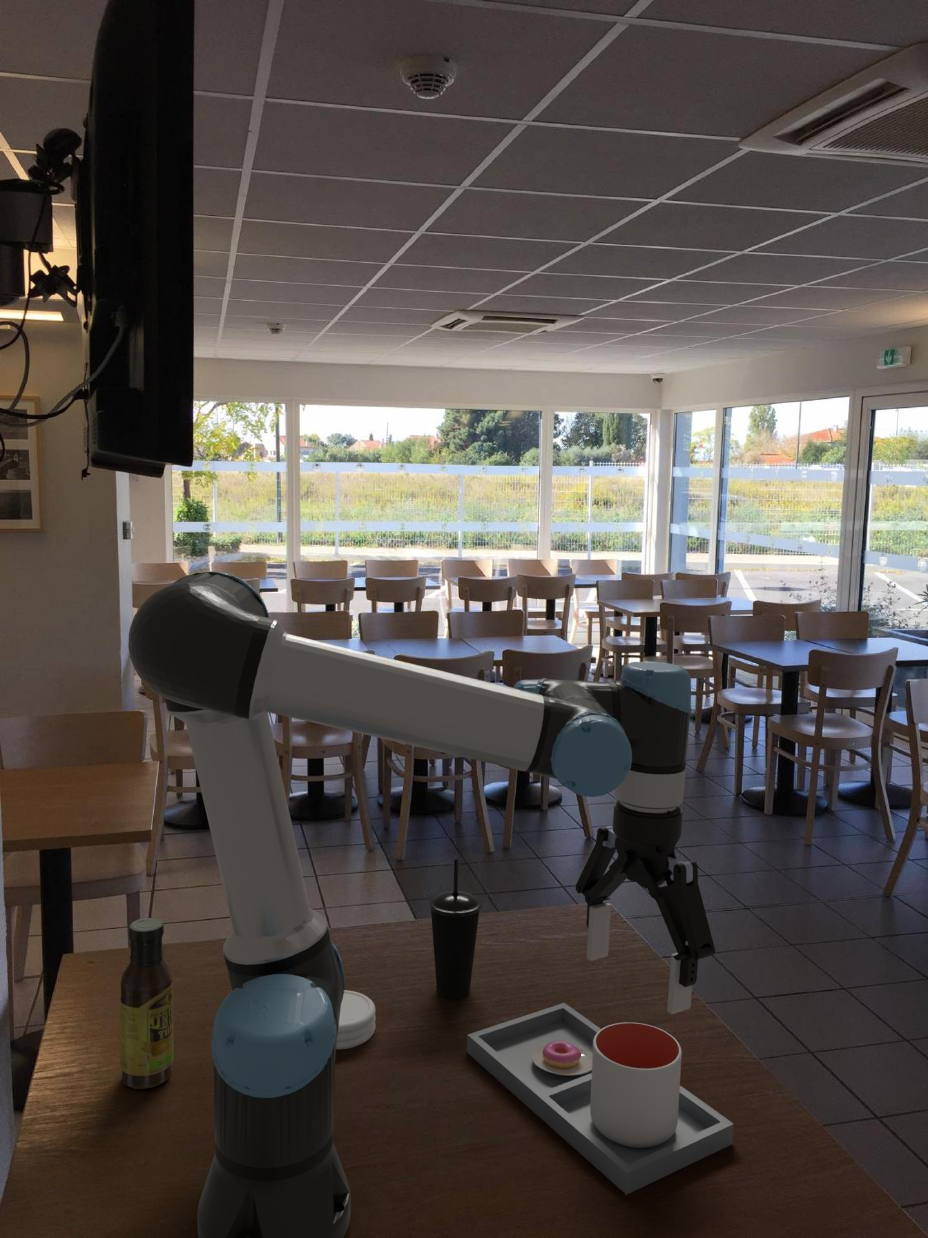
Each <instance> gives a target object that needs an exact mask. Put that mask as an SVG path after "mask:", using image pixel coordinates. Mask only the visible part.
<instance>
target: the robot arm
mask: <svg viewBox="0 0 928 1238" xmlns="http://www.w3.org/2000/svg"><path fill="white" fill-rule="evenodd" d="M133 616H134V617H133V619H132V621H131V624H130V626H129V632H128V641H127V642H128V645H127V647H128V651H129V652H128V653H129V658H130V661H131V663H132V666H133V668H134V670H135V673H136V674H137V676H138V677H139V678H140V679H141V681H142V682H143V683H144V685H146V686H147V687H148V688H149V689H151V690H152V692H154V693H155V694H158V695H159V696H161V697H162V698H164V700H165V705H166V710H167V713H168V714H170V715H171V716H173V717H175V718H177V719H178V720H180V721H182V722H183V723H184V724H185V725H186V730H187V734H188V738H189V743H190V747H191V752H192V756H193V761H194V765H195V770H196V774H197V779H198V782H199V787H200V791H201V795H202V800H203V804H204V805H203V806H204V808H205V809H204V810H205V812H206V817H207V821H208V826H209V831H210V835H211V840H212V844H213V845H212V846H213V849H214V853H215V858H216V861H217V866H218V870H219V875H220V879H221V883H222V888H223V893H224V897H225V901H226V905H227V910H228V914H229V918H230V922H231V927H232V928H231V929H232V931H231V932H230V934H229V935H228V937H227V939H226V940H225V941H224V944H223V946H222V953H223V957H224V961H225V962H224V963H225V966H226V970H227V974H228V979H229V983H230V989H231V991H230V992H229V993H228V994H227V995H226V997H225V998H224V999H223V1000H222V1002H221V1003H220V1005H219V1007H218V1008H217V1011H216V1014H215V1016H214V1023H213V1029H212V1032H211V1039H210V1041H211V1043H210V1045H211V1046H210V1047H211V1054H212V1055H211V1056H212V1061H213V1107H214V1108H213V1109H214V1110H213V1112H214V1113H213V1116H214V1117H213V1118H214V1119H213V1120H214V1156H213V1159H212V1162H211V1165H210V1167H209V1171H208V1173H207V1175H206V1176H207V1177H206V1180H205V1182H204V1186H203V1188H202V1192H201V1195H200V1198H199V1200H198V1207H197V1217H196V1218H197V1219H196V1220H197V1238H345V1236H346V1234H347V1231H348V1230H349V1227H350V1223H351V1216H352V1215H351V1214H352V1213H351V1204H352V1203H351V1202H352V1201H351V1199H352V1197H351V1189H350V1186H349V1185H350V1184H349V1181H348V1180H347V1176H346V1174H345V1171H344V1169H343V1165H342V1163H341V1160H340V1156H339V1155H338V1151H337V1149H336V1146H335V1143H334V1115H335V1114H334V1112H335V1111H334V1110H335V1109H334V1107H335V1106H334V1104H335V1101H334V1099H335V1097H334V1094H335V1093H334V1091H335V1090H334V1089H335V1087H334V1086H335V1085H334V1083H335V1081H334V1080H335V1064H336V1063H335V1061H336V1053H337V1052H336V1051H337V1050H336V1045H337V1036H338V1027H339V1018H340V1010H341V1003H342V999H343V995H344V989H345V985H346V982H345V981H346V980H345V979H346V977H345V970H344V964H343V961H342V958H341V955H340V953H339V951H338V948H337V946H336V945H335V944H334V942H333V941H332V940H331V934H330V930H329V926H328V922H327V919H326V918H325V916H324V915H322V914H321V913H319V912H318V911H316V910H314V909H312V908H310V907H311V906H310V903H309V897H308V894H307V889H306V883H305V879H304V875H303V870H302V865H301V861H300V857H299V856H300V855H299V851H298V846H297V841H296V838H295V837H296V836H295V832H294V829H293V828H294V827H293V823H292V818H291V813H290V810H289V806H288V801H287V800H288V799H287V795H286V790H285V786H284V782H283V777H282V776H283V775H282V772H281V767H280V762H279V757H278V754H277V749H276V744H275V740H274V735H273V731H272V725H271V721H270V716H269V713H270V714H274V715H277V716H278V715H279V716H282V717H287V718H292V719H294V720H295V719H296V720H300V721H304V722H309V723H314V724H318V725H322V726H327V727H330V728H335V729H339V730H343V731H344V730H345V731H348V732H353V733H357V734H361V735H362V734H363V735H366V736H371V737H375V738H378V739H383V740H387V741H392V742H396V743H401V744H406V745H410V746H414V747H417V748H422V749H427V750H430V751H435V752H441V753H445V754H449V755H452V756H458V757H462V758H466V759H470V760H475V761H477V762H478V761H479V762H483V763H487V764H492V765H497V766H500V767H505V768H509V769H514V770H517V771H518V770H519V771H523V772H528V773H531V774H534V775H538V776H541V777H547V778H550V779H554V780H557V782H558V783H560V785H562V786H563V787H565V788H567V789H568V790H569V791H571V792H572V793H573V794H576V795H578V796H581V797H588V798H595V797H602V796H605V795H607V794H609V793H612V792H613V791H614V794H613V795H614V796H615V798H616V801H614V803H613V814H612V815H613V817H612V818H613V819H612V825H608V826H604V827H599V828H597V832H596V838H595V839H596V840H595V844H594V847H593V849H592V850H591V853H590V855H589V857H588V858H587V861H586V863H585V865H584V867H583V869H582V872H581V874H580V875H579V877H578V880H577V881H576V884H575V890H576V893H577V894H579V895H580V894H582V895H583V896H584V901H585V902H586V905H587V906H586V908H587V909H586V928H587V930H588V931H587V946H586V960H588V961H589V962H592V961H596V960H600V959H603V958H607V957H609V950H610V949H609V947H610V931H611V915H612V904H611V903H609V902H604V901H608V900H611V897H610V896H611V895H612V894H613V893H614V892H615V891H616V890H617V889H618V888H619V887H620V886H621V885H622V884H623V883H624V882H625V881H626V880H629V881H630V882H635V883H637V884H638V885H639V886H640V887H641V888H644V889H647V892H648V894H649V896H650V897H651V898H653V899H655V901H656V904H657V907H658V909H659V912H660V914H661V916H662V918H663V920H664V924H665V926H666V928H667V931H668V933H669V935H670V938H671V940H672V942H673V945H674V948H675V950H676V952H675V953H672V954H671V956H670V970H669V983H668V997H667V1010H666V1012H668V1013H669V1014H671V1015H675V1014H677V1013H681V1012H684V1011H687V1010H690V1009H691V1005H692V1004H691V1003H692V991H693V986H694V985H695V984H696V983H697V981H698V979H697V978H698V970H699V969H698V968H699V960H701V959H705V958H708V957H711V956H713V955H715V954H716V946H715V944H714V940H713V935H712V933H711V929H710V924H709V921H708V917H707V914H706V908H705V905H704V901H703V897H702V894H701V893H702V892H701V890H700V886H699V867H698V863H697V861H695V860H689V861H683V860H680V859H677V856H676V850H675V848H676V846H677V844H678V842H679V840H681V837H682V826H683V812H684V811H683V808H682V807H681V804H683V803H684V794H685V793H684V791H685V781H686V765H687V751H688V742H689V730H690V723H691V722H690V721H691V720H690V719H691V714H692V710H693V709H692V678H691V675H690V673H689V672H688V671H687V669H686V668H684V667H682V666H680V665H677V664H675V663H674V664H673V663H669V662H661V661H648V660H647V661H646V660H644V661H633V662H629V663H627V664H625V665H624V666H623V668H622V673H621V676H620V680H612V681H597V680H595V681H594V680H593V681H592V680H575V679H574V680H573V679H571V680H570V679H567V680H566V679H549V678H548V677H543V678H541V679H520V680H519V681H517V682H516V683H515V684H514V686H513V687H512V686H511V687H510V686H507V685H502V684H498V683H493V682H490V681H485V680H482V679H477V678H474V677H468V676H466V675H465V676H464V675H461V674H456V673H453V672H452V673H451V672H448V671H445V670H439V669H435V668H431V667H427V666H423V665H419V664H415V663H410V662H406V661H402V660H397V659H393V658H390V657H385V656H381V655H377V654H373V653H369V652H365V651H360V650H358V649H353V648H348V647H345V646H344V647H343V646H340V645H336V644H332V643H327V642H323V641H319V640H315V639H311V638H307V637H303V636H300V635H298V636H297V635H295V634H290V633H288V632H287V631H286V630H285V629H284V627H283V625H282V624H281V623H280V621H279V620H278V619H276V618H275V619H273V618H270V614H269V611H268V609H267V606H266V603H265V602H264V599H263V597H261V595H260V594H259V592H258V591H257V590H256V589H255V588H254V587H253V586H252V585H251V584H250V583H249V582H247V581H245V580H244V579H242V578H240V577H239V576H236V575H234V574H231V573H228V572H227V573H226V572H222V571H214V570H213V571H212V570H210V571H205V572H202V571H201V572H200V571H197V572H195V573H192V574H187V575H184V576H181V577H180V578H178V579H177V580H175V581H173V583H172V584H170V585H167V586H165V587H163V588H161V589H159V590H158V591H156V592H154V593H153V594H151V595H150V596H149V597H148V598H146V599H145V601H144V602H142V604H141V605H140V607H139V608H138V609H137V611H136V613H135V614H134V615H133ZM615 853H617V857H616V859H615V860H614V861H613V862H612V863H611V861H612V859H613V857H614V855H615ZM610 863H611V864H610ZM607 869H608V870H607ZM606 871H607V872H606ZM664 882H665V883H666V885H664V886H662V885H663V884H664ZM686 942H687V944H686Z"/></svg>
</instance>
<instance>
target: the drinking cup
mask: <svg viewBox="0 0 928 1238" xmlns="http://www.w3.org/2000/svg"><path fill="white" fill-rule="evenodd" d="M452 881H453V886H452V887H453V889H452V890H449V891H445V892H440V893H437V894H435V895H433V896H431V897H430V899H429V901H428V908H429V909H430V913H431V914H430V915H431V917H430V918H431V929H432V930H431V931H432V942H433V945H432V946H433V957H434V970H435V984H436V992H437V994H438V995H439V996H440V997H442V998H445V999H449V1000H451V999H452V1000H456V999H457V1000H458V999H463V998H465V997H467V996H468V995H469V994H470V990H471V984H472V977H473V976H472V975H473V968H474V958H475V950H476V942H477V934H478V926H479V925H478V924H479V918H480V911H481V909H482V906H483V905H482V900H481V899H480V897H478V896H477V895H474V894H472V893H469V892H466V891H462V890H461V891H460V890H459V859H454V860H453V880H452Z"/></svg>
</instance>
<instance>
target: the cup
mask: <svg viewBox="0 0 928 1238" xmlns="http://www.w3.org/2000/svg"><path fill="white" fill-rule="evenodd" d="M600 1029H601V1030H600V1031H598V1032H597V1034H596V1035H595V1037H594V1040H593V1056H592V1079H591V1102H590V1114H591V1118H592V1121H593V1123H594V1125H595V1126H596V1128H597V1129H598V1130H599V1131H600V1132H601V1133H602V1134H603V1135H604V1136H605V1137H607V1138H608V1139H610V1140H612V1141H614V1142H616V1143H618V1144H621V1145H624V1146H628V1147H634V1148H647V1147H653V1146H657V1145H659V1144H662V1143H664V1142H665V1141H667V1140H668V1139H669V1138H670V1137H671V1136H672V1135H673V1134H674V1132H675V1130H676V1128H677V1123H678V1108H679V1091H680V1086H681V1074H682V1073H681V1069H682V1053H683V1051H682V1047H681V1045H680V1043H679V1042H678V1040H677V1039H676V1038H675V1037H674V1036H673V1035H672V1034H670V1033H668V1031H666V1030H664V1029H662V1028H659V1027H656V1026H655V1025H654V1026H653V1025H650V1024H648V1023H647V1024H646V1023H641V1022H632V1021H631V1022H617V1023H613V1024H609V1025H606V1026H604V1027H603V1028H600Z"/></svg>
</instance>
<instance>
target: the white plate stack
mask: <svg viewBox="0 0 928 1238" xmlns="http://www.w3.org/2000/svg"><path fill="white" fill-rule="evenodd" d="M376 1012H377V1011H376V1005H375V1003H374V1001H373V1000H372V999H371V998H370V997H368V996H367V995H365V994H363V993H361V992H358V991H353V990H344V995H343V999H342V1003H341V1010H340V1018H339V1027H338V1036H337V1045H336V1051H337V1050H339V1051H340V1050H346V1049H352V1048H355V1047H357V1046H360V1045H362V1044H364V1043H366V1042H367V1041H369V1040H370V1039H371V1037H372V1036H373V1035H374V1034H375V1030H376Z"/></svg>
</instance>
